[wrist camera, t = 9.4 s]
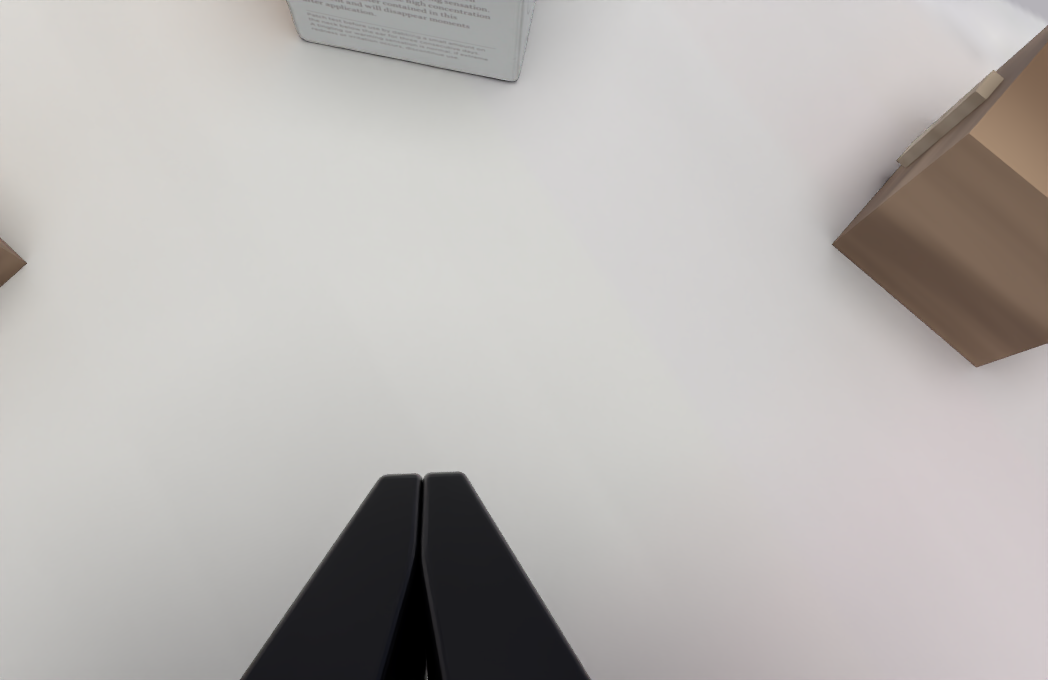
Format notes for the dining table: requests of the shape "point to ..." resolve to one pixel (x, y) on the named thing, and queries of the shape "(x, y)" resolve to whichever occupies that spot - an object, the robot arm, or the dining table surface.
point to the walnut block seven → (9, 262)
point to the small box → (424, 31)
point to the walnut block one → (970, 217)
